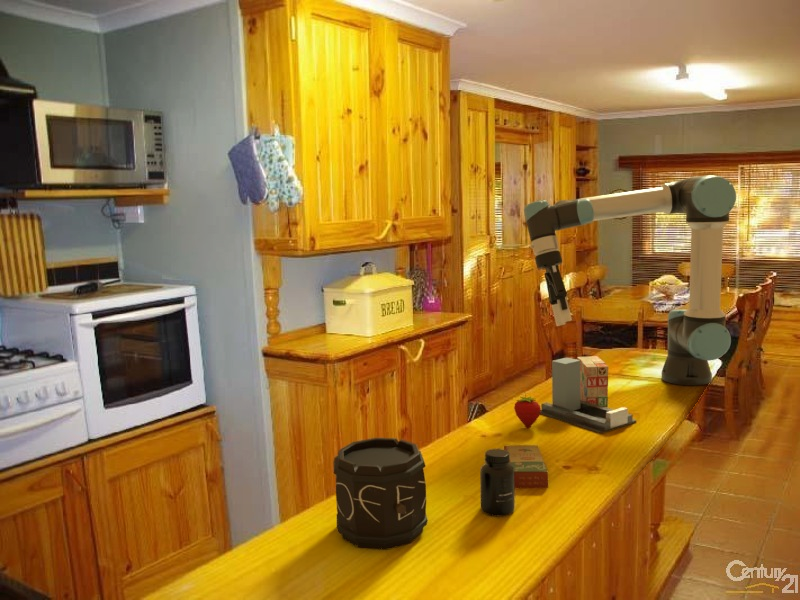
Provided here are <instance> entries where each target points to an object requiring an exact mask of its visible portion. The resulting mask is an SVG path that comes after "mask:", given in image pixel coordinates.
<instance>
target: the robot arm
mask: <svg viewBox="0 0 800 600" xmlns="http://www.w3.org/2000/svg"><path fill="white" fill-rule="evenodd" d="M736 201H737V193H736V189H735V186H734V185H733V184H732V182H730V181H729V180H728V179H727V178H725V177H723V176H719V175H714V174H709V175H708V174H707V175H695V176H691V177H688V178H684V179H681V180H676V181H672V182H666V183H663V184H661V186H660V187H654V188H645V189H638V190H632V191H625V192H617V193H611V194H602V195H596V196H588V197H581V198H574V199H567V200H566V199H562V200H559V201H556V202H555V203H554V204H553V205H550V204H549V202H548V200H546V199H545V200H543V199H542V200H537V201H533V202H530V203H528V204H527V205H525V206H524V208H523V212H524V217H525V224H526V227H527V231H528V235H529V238H530V243H531V245H530V246H529V247H530V249H532V251H533V255H535V257H534V261H535V264H536V269H539V270H543V269H545V272H544V279H545V282H546V287H547V288H546V289H547V293H548V300H549V304H550V305H551V309H552V313H553V317H554V321H555V325H556V327H560V326H563V325H566V324H567V322H568V323H569V322H571V321H573V318H572V314H571V310H570V306H569V303H568V299H567V295H568V292H567V290H566V287H565V284H564V281H563V277H562V275H561V271H560V268H559V267H560V265H561V264H563V257H562V254H561V252H560V246H559V241H558V237H557V234H556V231H561V230H565V229H566V230H567V229H570V228H575V227H579V226H582V227H583V226H585V225H588V224H591V223H593V222H595V221H602V220H603V221H604V220H612V219H616V218H617V219H618V218H627V217H633V216H641V215H647V214H648V215H649V214H655V213H664V214H665V215H671V214H685V218H686V219H685V220H686V221H685V223H686V224H687V225H688V227H690V229H691V230H690V232H691V235H690V263H689V264H690V268H689V269H690V271H689V272H690V273H689V299H688V300H689V303H688V306H689V307H688V308H686V309H685V308H683V309H682V308H681V309H672V310H670V311H668V314H667V316H668V318H667V356H666V359H665V362H664V365H663V366H662V370H661V380H662V381H664V382H665V383H666V382H667V383H669V384H672V385H679V386H703V385H708V384H711V383H712V382H713V373H712V371H711V367H710V364H709V361H710V362H711V361H714V360H717V359H719V358H721V357H722V356H724V355H725V354H726V353H727V352H728V351H729V349H730V347H731V343H732V337H731V333H730V332H729V330H728V328H726V320H727V319H726V317H727V315H726V313H725V312H724V311H723V310H722V309H721V297H722V296H721V295H722V270H723V269H722V268H723V264H722V263H723V240H724V236H723V235H724V227H725V226H726V225H728V224H729V222H730V212H731V211H732V210H733V208H734V207H735V204H736Z"/></svg>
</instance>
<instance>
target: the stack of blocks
mask: <svg viewBox="0 0 800 600" xmlns="http://www.w3.org/2000/svg"><path fill="white" fill-rule="evenodd" d="M576 360H580V400H582V401H585V402H589V403H592V404H596V405H600V406H605V407H608V405H609V404H608V403H609V396H608V395H609V394H608V392H609V389H608V387H609V365H607V364H606V362H605V361H604V360H602V359H601V358H600V357H599V356H597V355H593V356H591V355H590V356H577V357H576Z"/></svg>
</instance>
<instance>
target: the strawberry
mask: <svg viewBox="0 0 800 600" xmlns="http://www.w3.org/2000/svg"><path fill="white" fill-rule="evenodd" d="M524 395H525V397H524V396H520V398H521V399H517V400H516V402H515V403H514V407H513V409H514V412H515V415H516V417H517V418H518V419H519V421H520V422H521V423H522V424H523V425H524V427H525V428H527V429H530V428H531V427H532V426H533V424H534V423H536V421H537V420H538V418H540V415H541V414H540V411H541V405H540V404H539V403H538V401H537V400H536V398H535V397H534V398H533V397H532V396H528V397H527V395H526V392H525V391H524ZM536 401H537V402H536Z"/></svg>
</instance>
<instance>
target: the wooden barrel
mask: <svg viewBox="0 0 800 600" xmlns="http://www.w3.org/2000/svg"><path fill="white" fill-rule="evenodd" d="M332 464H333V474H334V475H335V501H336V502H335V503H336V511H337V512H336V531H337V532H338V533H339V534H342V539H343V540H344V541H346V542H348V543H350V544H351V545H354V546H356V547H357V548H359V549H370V550H384V551H385V550H386V551H387V550H389V549H394V548H397V547H401V546H406V545H409V544H412V542H413V541H414V540H416V539H417V537H419V536H420V535H421V534H423V531H424V527H425V526H427V524H428V517H427V514H426V509H427V487H426V479H425V477H426V476H425V472H424V468H426V462H425V460H424V457H423V454H422V451H421V450H419V448H418V445H417V444H416V443H413V442H410V441H408V440H405V439H401V440H398V439H397V438H393V437H392V438H391V437H390V438H389V437H372V438H367V439H362V440H357V441H352V442H350V443H349V444H347V445H345V446H343V447H342V448H340V449H339V450H338V451H337V456H335V457H334V458H333V463H332Z"/></svg>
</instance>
